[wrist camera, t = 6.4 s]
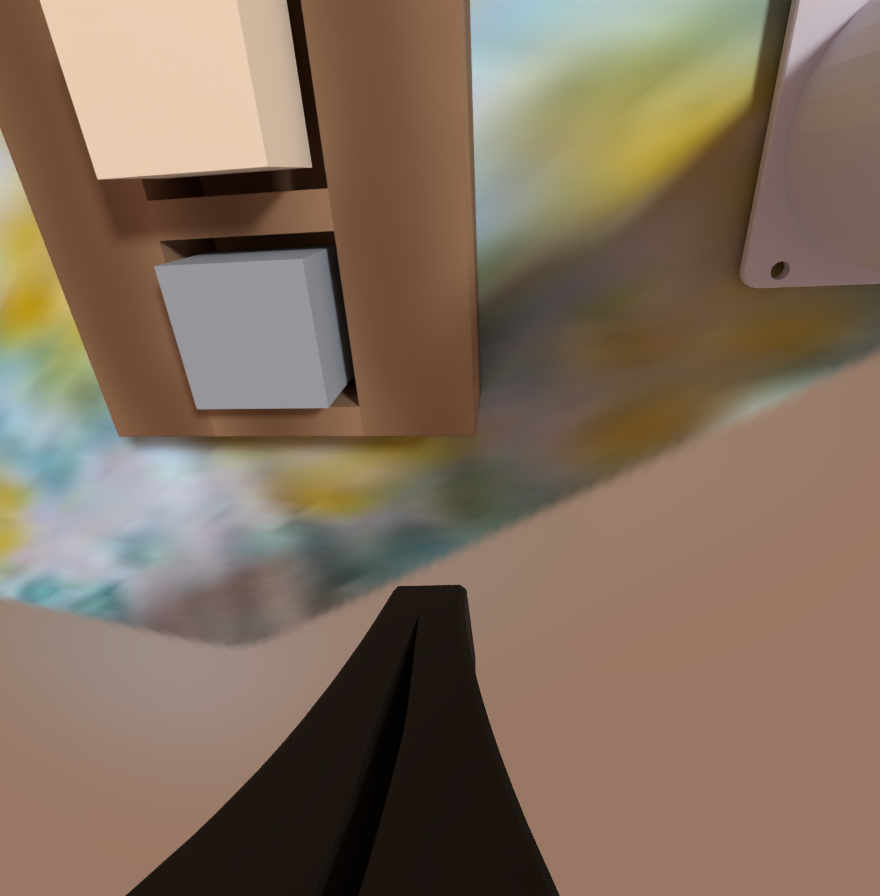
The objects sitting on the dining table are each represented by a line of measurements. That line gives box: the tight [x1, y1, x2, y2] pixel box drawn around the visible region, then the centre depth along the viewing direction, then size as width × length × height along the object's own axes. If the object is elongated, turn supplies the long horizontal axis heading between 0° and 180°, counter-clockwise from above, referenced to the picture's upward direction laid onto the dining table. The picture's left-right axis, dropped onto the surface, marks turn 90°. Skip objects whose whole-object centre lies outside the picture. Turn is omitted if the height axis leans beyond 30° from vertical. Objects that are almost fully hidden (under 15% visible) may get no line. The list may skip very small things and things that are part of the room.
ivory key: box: [40, 0, 312, 180], centre depth 12 cm, size 4×4×3 cm
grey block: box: [154, 245, 355, 409], centre depth 15 cm, size 4×4×3 cm
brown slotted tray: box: [0, 0, 481, 436], centre depth 14 cm, size 12×19×4 cm, turn 3°
